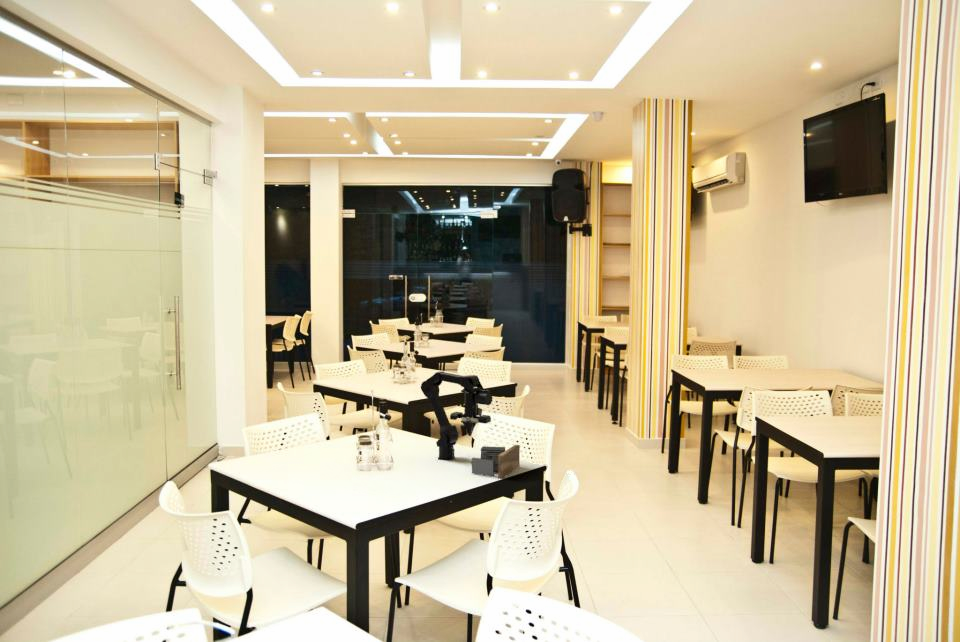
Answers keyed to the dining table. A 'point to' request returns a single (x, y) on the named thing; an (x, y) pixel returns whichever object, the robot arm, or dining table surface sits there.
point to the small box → (492, 454)
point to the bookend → (483, 466)
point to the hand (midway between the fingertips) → (469, 435)
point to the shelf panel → (508, 461)
